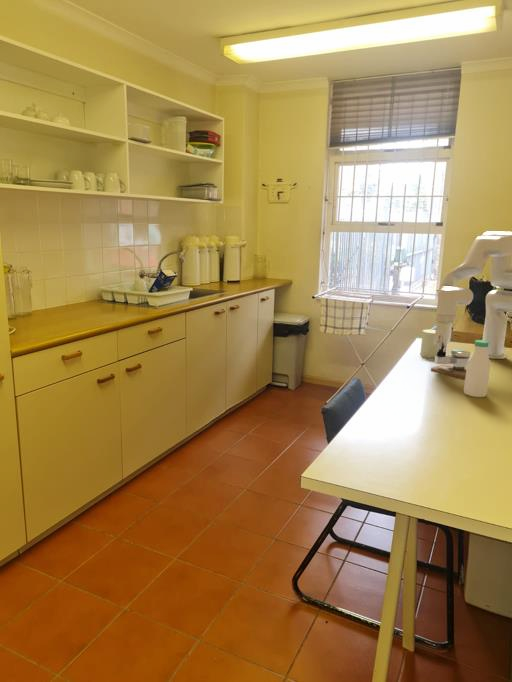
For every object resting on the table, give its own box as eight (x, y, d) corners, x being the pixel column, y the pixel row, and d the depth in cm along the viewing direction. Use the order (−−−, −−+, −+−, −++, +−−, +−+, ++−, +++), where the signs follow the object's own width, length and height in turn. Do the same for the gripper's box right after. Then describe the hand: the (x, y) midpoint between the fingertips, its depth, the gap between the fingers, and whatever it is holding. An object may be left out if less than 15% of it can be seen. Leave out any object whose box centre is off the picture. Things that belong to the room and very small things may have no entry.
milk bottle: (488, 398, 181) (496, 344, 177) (465, 396, 182) (472, 342, 178) (483, 392, 188) (490, 339, 184) (461, 390, 190) (468, 338, 185)
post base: (450, 364, 225) (452, 349, 223) (485, 373, 213) (488, 357, 212) (430, 370, 215) (432, 354, 213) (466, 379, 203) (468, 363, 201)
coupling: (431, 362, 215) (432, 349, 214) (462, 362, 218) (463, 348, 216) (440, 367, 208) (441, 353, 207) (472, 366, 210) (474, 353, 209)
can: (443, 357, 237) (446, 332, 234) (423, 357, 237) (426, 332, 234) (436, 352, 246) (439, 328, 243) (417, 352, 246) (420, 328, 243)
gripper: (440, 314, 219) (435, 355, 223) (432, 319, 207) (427, 363, 211) (458, 316, 215) (453, 358, 219) (451, 322, 203) (446, 366, 207)
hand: (440, 360), depth 215 cm, fingers closed
